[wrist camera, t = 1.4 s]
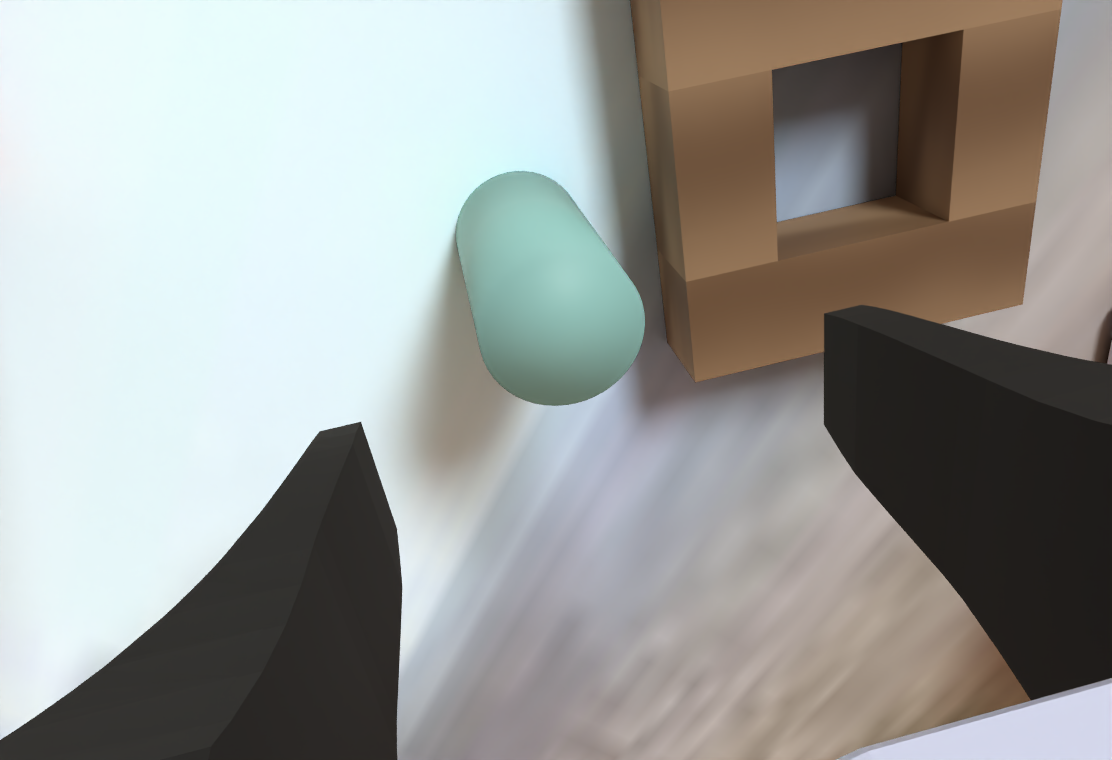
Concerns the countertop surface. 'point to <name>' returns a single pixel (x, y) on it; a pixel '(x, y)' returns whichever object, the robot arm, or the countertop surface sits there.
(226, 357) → the countertop surface
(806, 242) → the socket board
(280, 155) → the countertop surface
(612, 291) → the peg
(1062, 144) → the countertop surface
